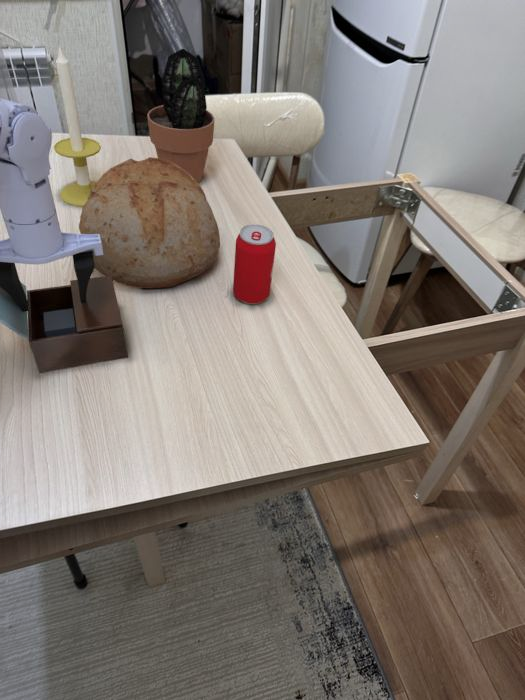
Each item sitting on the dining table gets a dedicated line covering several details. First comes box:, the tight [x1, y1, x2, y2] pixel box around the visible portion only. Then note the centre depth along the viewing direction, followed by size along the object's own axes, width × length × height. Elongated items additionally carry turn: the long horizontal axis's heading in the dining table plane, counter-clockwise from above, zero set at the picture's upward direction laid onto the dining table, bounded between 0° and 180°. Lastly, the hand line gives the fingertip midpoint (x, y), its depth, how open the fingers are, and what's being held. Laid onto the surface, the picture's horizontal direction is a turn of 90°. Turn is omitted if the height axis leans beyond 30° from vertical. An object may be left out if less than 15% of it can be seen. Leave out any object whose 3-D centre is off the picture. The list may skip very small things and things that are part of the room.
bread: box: [78, 156, 221, 289], centre depth 83 cm, size 26×23×15 cm
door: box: [0, 282, 29, 340], centre depth 62 cm, size 6×11×1 cm
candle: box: [53, 43, 102, 207], centre depth 90 cm, size 10×10×27 cm
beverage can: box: [232, 223, 277, 305], centre depth 78 cm, size 6×6×12 cm
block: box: [43, 308, 79, 338], centre depth 69 cm, size 4×4×4 cm
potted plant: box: [146, 48, 216, 184], centre depth 100 cm, size 14×14×25 cm
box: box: [26, 275, 129, 374], centre depth 69 cm, size 12×11×7 cm
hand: (54, 302), depth 65 cm, fingers open, 7 cm apart
